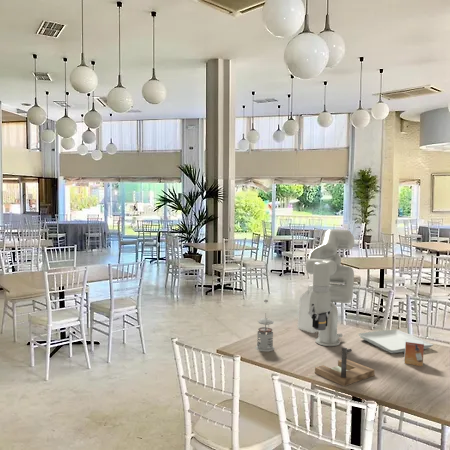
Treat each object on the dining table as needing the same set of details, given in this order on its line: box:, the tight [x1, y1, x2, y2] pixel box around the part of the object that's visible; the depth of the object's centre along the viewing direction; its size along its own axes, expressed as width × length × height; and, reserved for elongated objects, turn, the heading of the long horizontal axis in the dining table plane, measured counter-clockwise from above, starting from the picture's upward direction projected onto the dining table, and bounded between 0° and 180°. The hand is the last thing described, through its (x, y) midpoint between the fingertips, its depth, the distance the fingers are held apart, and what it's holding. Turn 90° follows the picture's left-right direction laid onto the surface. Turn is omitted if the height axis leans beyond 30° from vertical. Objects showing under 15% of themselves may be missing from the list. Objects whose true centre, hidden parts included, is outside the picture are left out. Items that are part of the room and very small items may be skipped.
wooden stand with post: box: [314, 347, 376, 387], centre depth 194 cm, size 20×16×14 cm
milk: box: [296, 284, 319, 334], centre depth 259 cm, size 12×12×26 cm
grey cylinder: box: [314, 313, 326, 330], centre depth 208 cm, size 5×5×7 cm
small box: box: [403, 339, 425, 367], centre depth 208 cm, size 8×6×10 cm
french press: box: [255, 299, 275, 352], centre depth 226 cm, size 10×12×25 cm
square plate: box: [357, 329, 434, 354], centre depth 235 cm, size 27×27×4 cm
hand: (319, 326), depth 208 cm, fingers closed on grey cylinder, 5 cm apart
